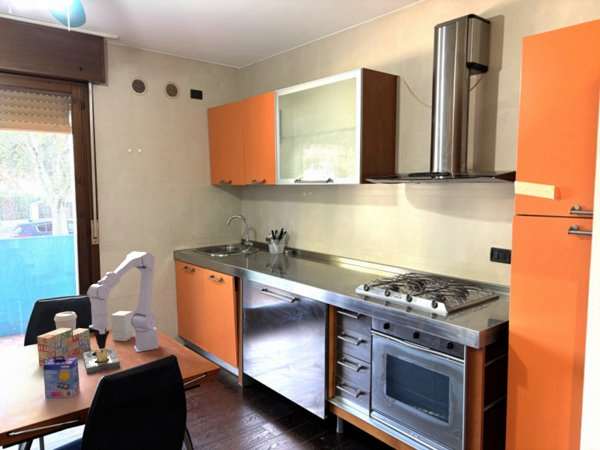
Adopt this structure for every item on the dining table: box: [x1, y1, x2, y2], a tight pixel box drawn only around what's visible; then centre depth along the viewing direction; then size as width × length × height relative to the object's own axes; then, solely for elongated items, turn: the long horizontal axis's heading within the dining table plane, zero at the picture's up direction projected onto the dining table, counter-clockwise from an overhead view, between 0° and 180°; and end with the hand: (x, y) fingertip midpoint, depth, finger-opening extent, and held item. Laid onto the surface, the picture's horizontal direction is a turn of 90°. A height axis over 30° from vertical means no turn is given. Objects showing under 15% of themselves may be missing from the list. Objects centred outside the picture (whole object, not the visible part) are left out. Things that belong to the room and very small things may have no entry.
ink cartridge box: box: [42, 356, 81, 399], centre depth 155 cm, size 10×6×14 cm, turn 95°
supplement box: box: [110, 310, 135, 342], centre depth 213 cm, size 7×7×13 cm
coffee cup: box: [53, 311, 78, 330], centre depth 205 cm, size 10×10×15 cm
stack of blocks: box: [36, 327, 91, 366], centre depth 191 cm, size 21×6×12 cm, turn 160°
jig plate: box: [82, 347, 121, 375], centre depth 183 cm, size 12×19×2 cm, turn 30°
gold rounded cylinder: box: [95, 347, 108, 364], centre depth 179 cm, size 4×4×7 cm
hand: (101, 346), depth 179 cm, fingers open, 4 cm apart
